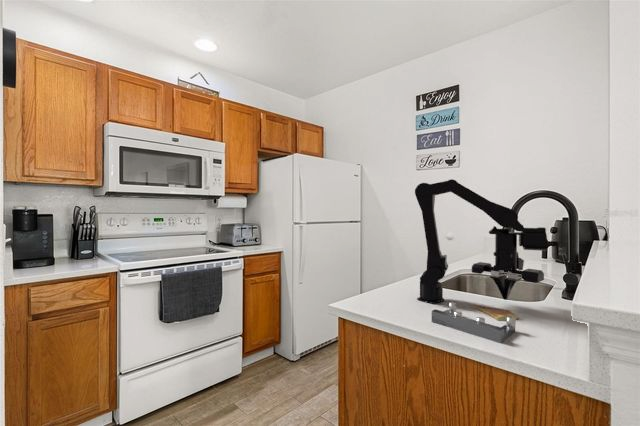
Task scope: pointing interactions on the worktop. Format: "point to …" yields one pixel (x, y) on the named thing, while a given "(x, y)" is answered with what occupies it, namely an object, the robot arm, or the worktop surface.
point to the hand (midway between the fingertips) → (505, 299)
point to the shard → (496, 312)
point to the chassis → (473, 324)
